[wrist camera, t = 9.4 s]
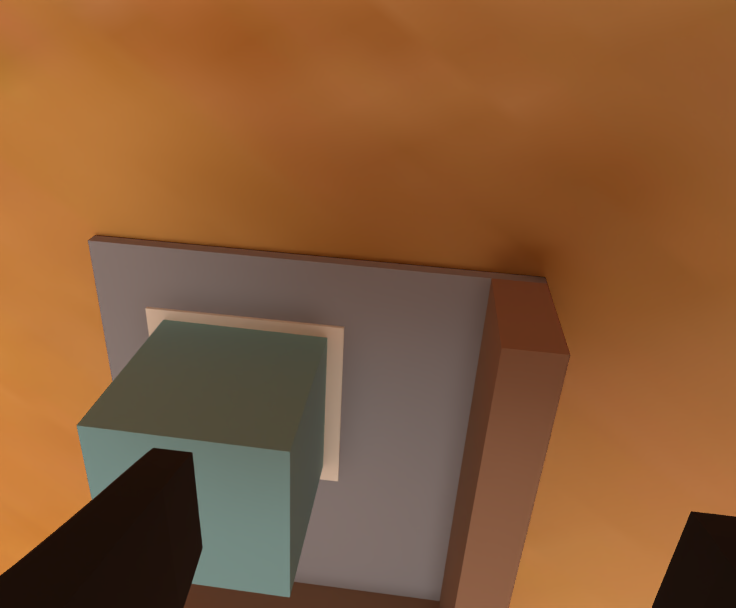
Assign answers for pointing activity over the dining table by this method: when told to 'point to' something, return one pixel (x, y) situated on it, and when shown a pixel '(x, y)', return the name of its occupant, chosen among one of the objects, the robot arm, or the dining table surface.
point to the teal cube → (224, 440)
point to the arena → (379, 408)
